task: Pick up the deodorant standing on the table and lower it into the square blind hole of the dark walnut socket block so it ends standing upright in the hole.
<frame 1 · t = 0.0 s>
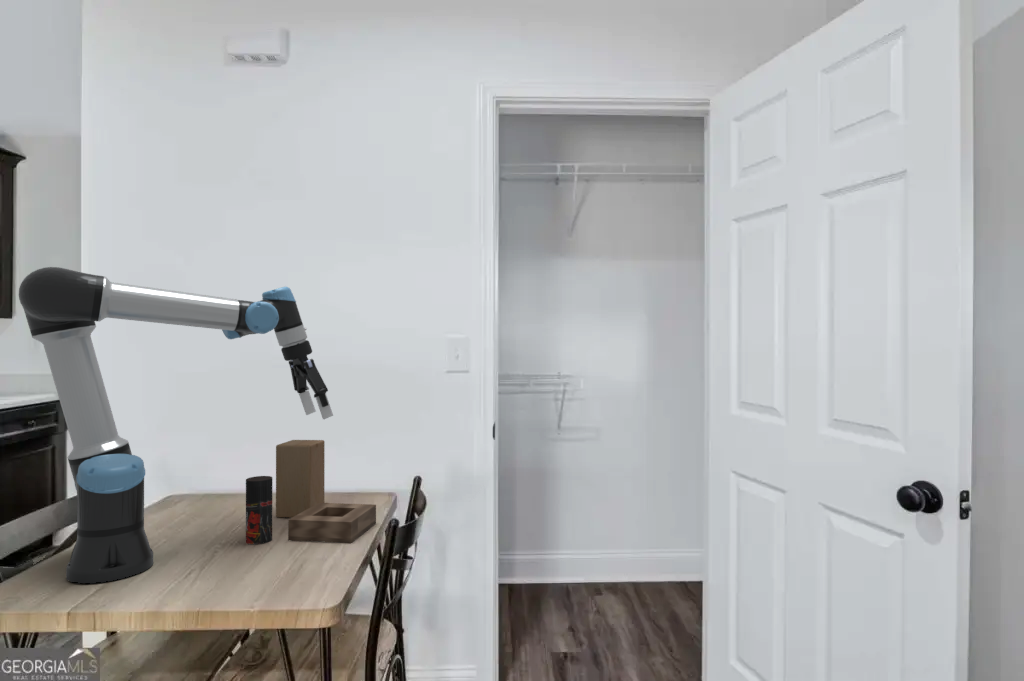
hand: (319, 415, 164), 28 cm above the table, tool tilted 20°, fingers open, 13 cm apart
deodorant: (259, 541, 142), on the table
socket block: (334, 531, 149), on the table
wooden block: (300, 513, 167), on the table
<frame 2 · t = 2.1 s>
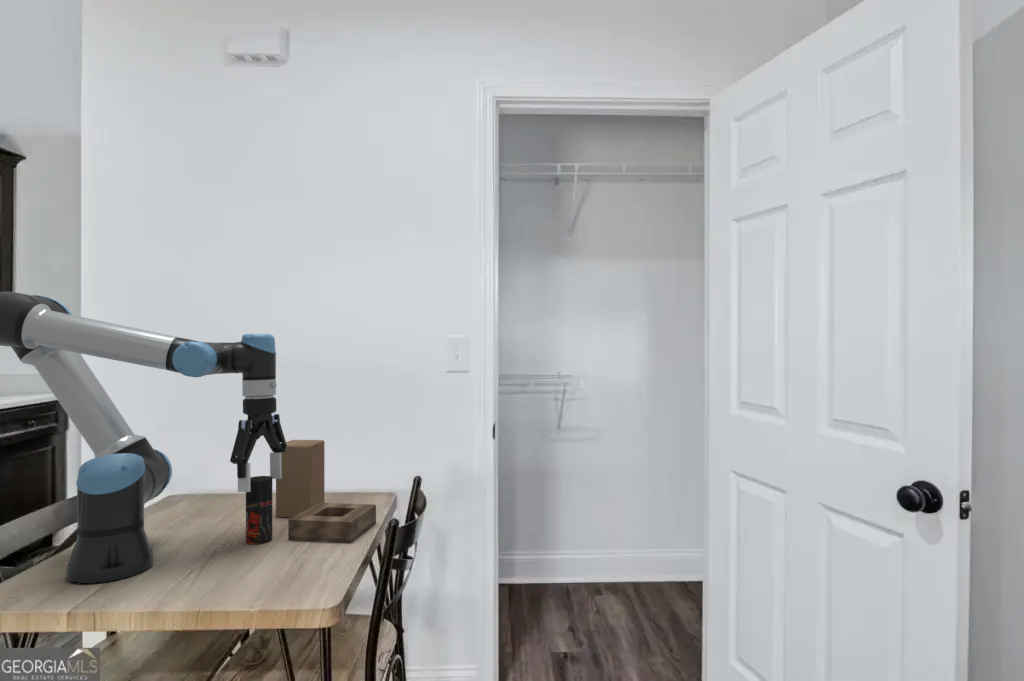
hand: (260, 484, 143), 13 cm above the table, tool pointing down, fingers open, 13 cm apart
nothing on the table moved.
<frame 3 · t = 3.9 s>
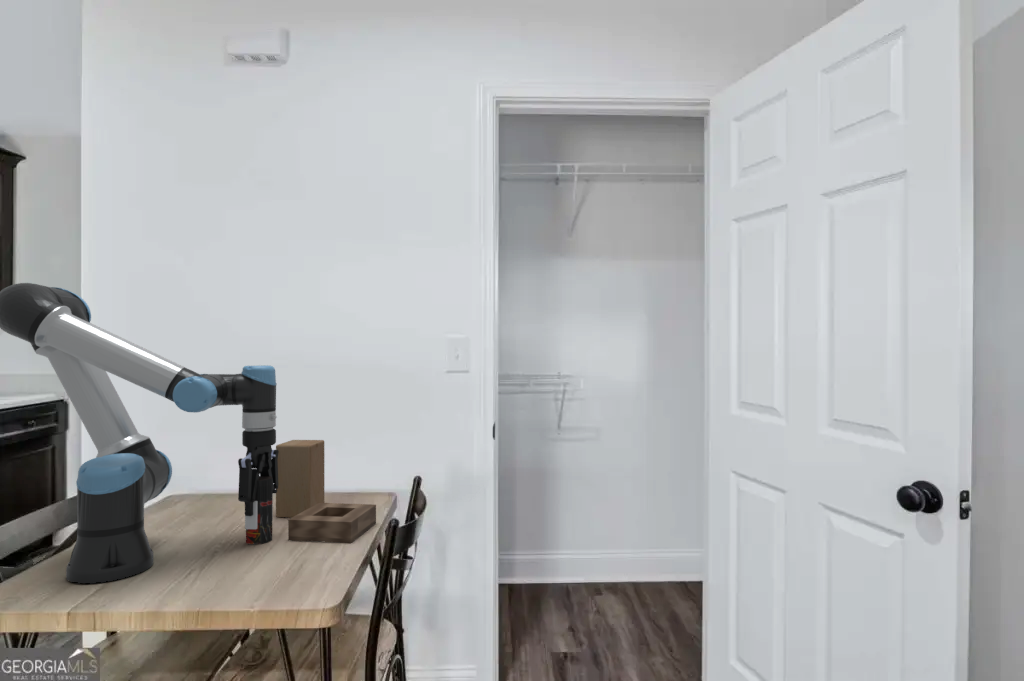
hand: (259, 524, 143), 4 cm above the table, tool pointing down, fingers closed on deodorant, 6 cm apart
deodorant: (259, 541, 142), on the table, touching gripper
everything else where it was.
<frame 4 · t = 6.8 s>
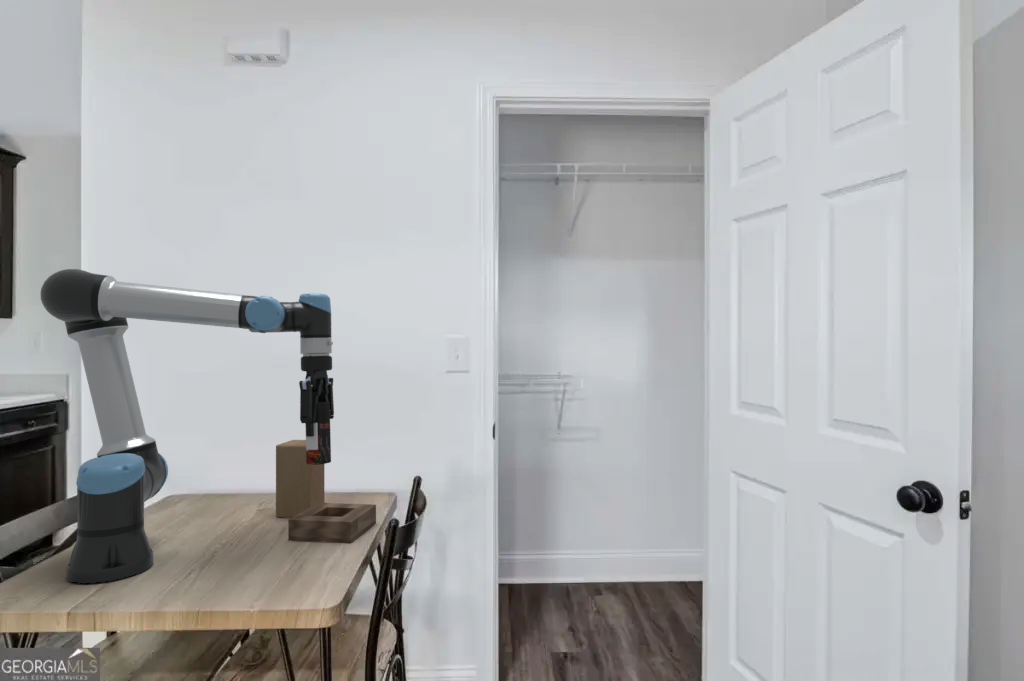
hand: (318, 446, 148), 22 cm above the table, tool pointing down, fingers closed on deodorant, 6 cm apart
deodorant: (318, 463, 148), point 18 cm above the table, touching gripper
everything else where it was.
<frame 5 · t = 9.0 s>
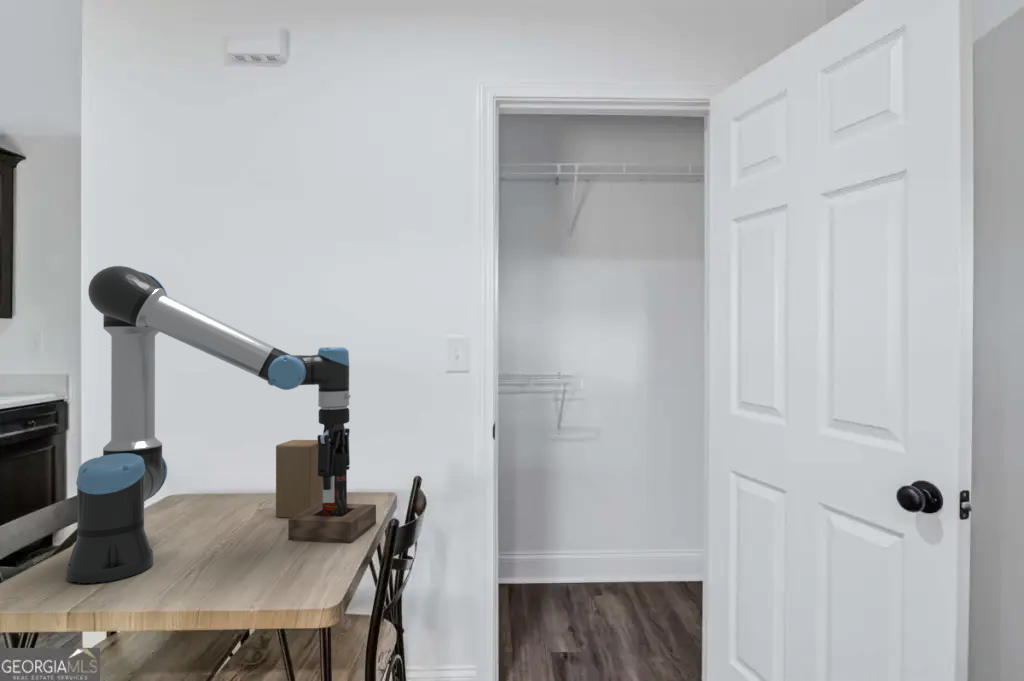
hand: (334, 498, 149), 8 cm above the table, tool pointing down, fingers closed on deodorant, 6 cm apart
deodorant: (334, 514, 149), point 4 cm above the table, touching gripper
everything else where it was.
when the fingers open (7 cm above the table, at t = 10.0 s): deodorant drops 2 cm, resting on socket block.
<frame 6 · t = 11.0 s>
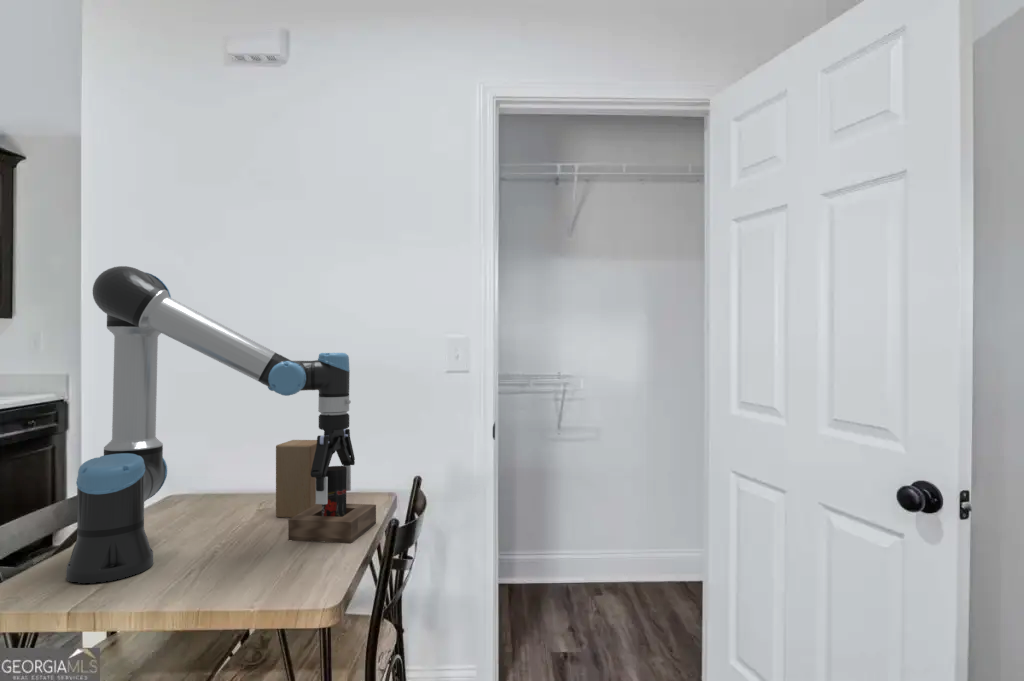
hand: (334, 497, 149), 9 cm above the table, tool pointing down, fingers open, 13 cm apart
deodorant: (334, 528, 149), point 1 cm above the table, touching socket block
everything else where it was.
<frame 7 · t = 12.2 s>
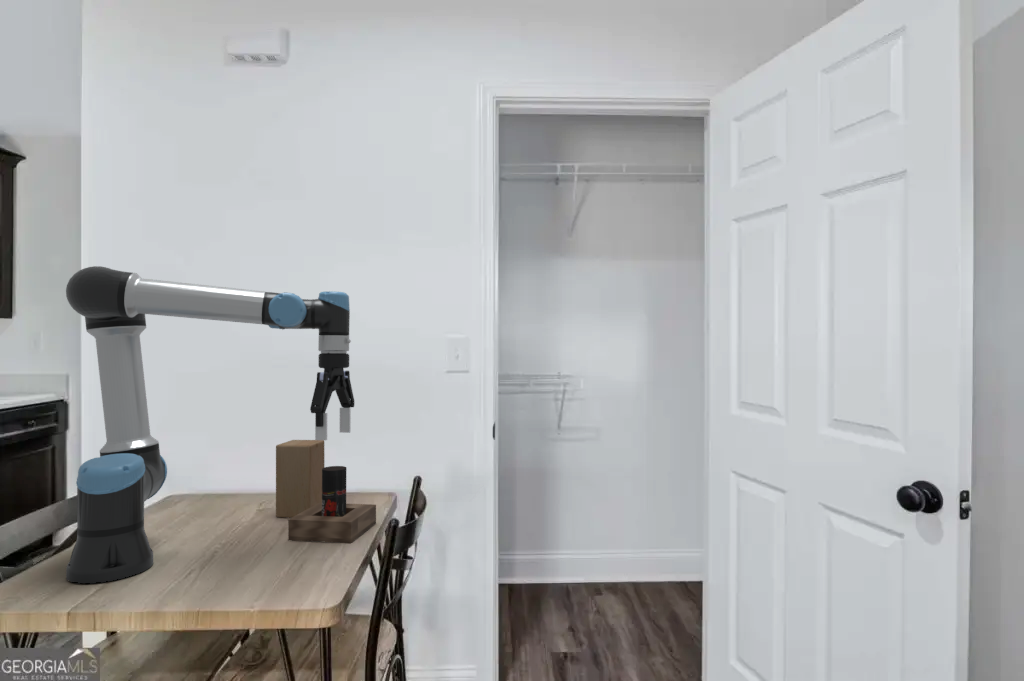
hand: (333, 436, 150), 24 cm above the table, tool pointing down, fingers open, 13 cm apart
nothing on the table moved.
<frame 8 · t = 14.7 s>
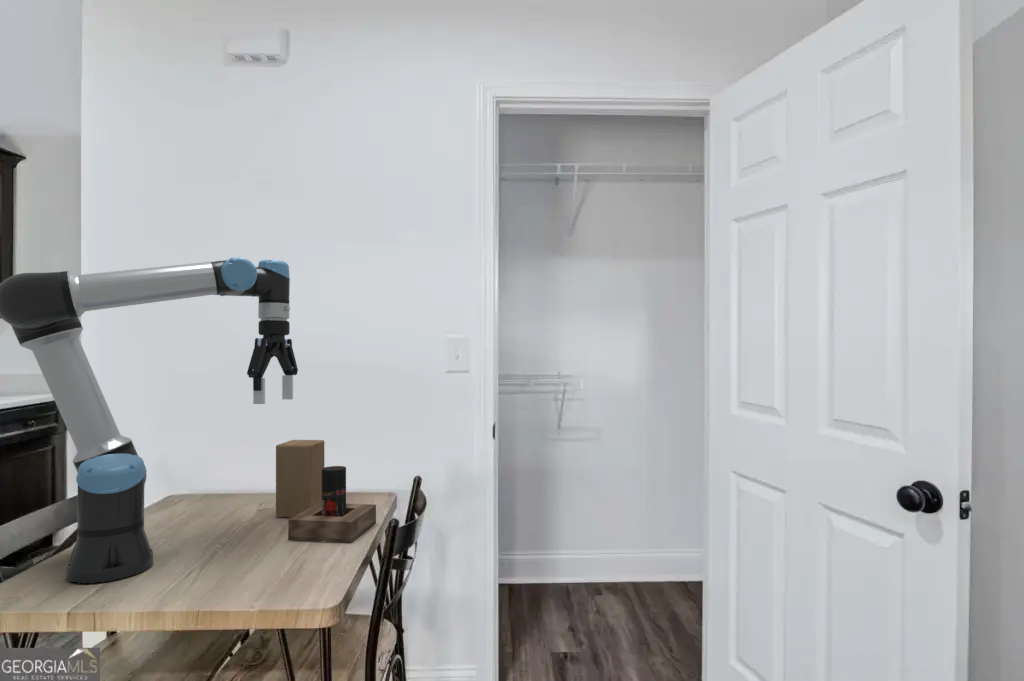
hand: (274, 401, 153), 33 cm above the table, tool pointing down, fingers open, 13 cm apart
nothing on the table moved.
at the end: deodorant 0.0 cm off-centre on the socket block, point 0.8 cm above the socket block's base; deodorant tilted 0°; the gripper is holding nothing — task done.
